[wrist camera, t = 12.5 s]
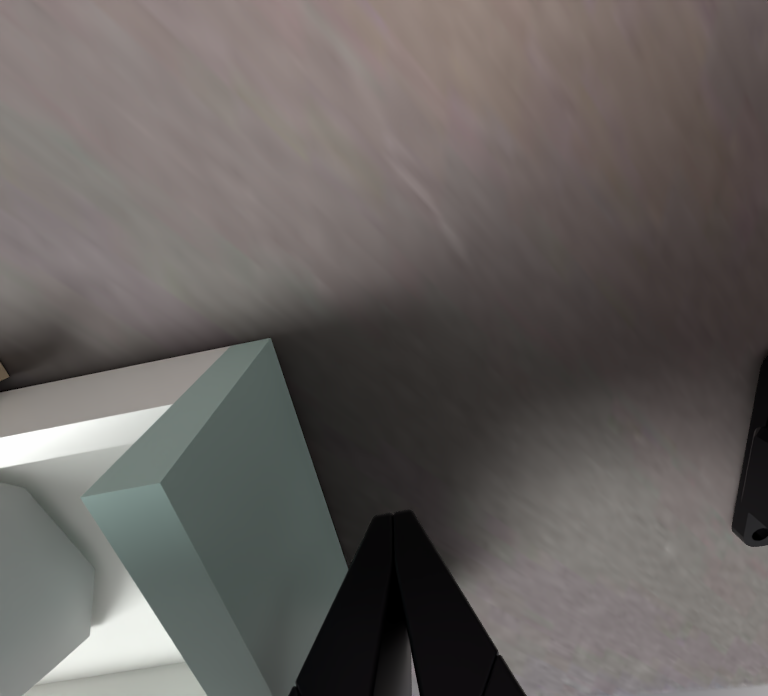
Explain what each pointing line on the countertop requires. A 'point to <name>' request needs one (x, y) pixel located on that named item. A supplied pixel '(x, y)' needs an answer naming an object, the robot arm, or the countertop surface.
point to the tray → (181, 522)
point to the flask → (38, 592)
